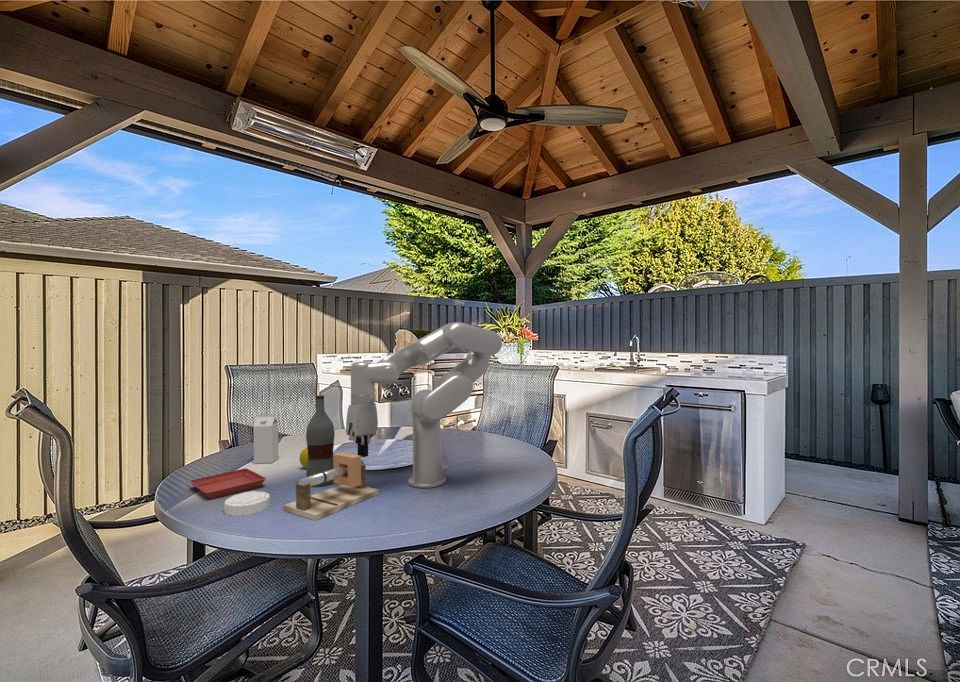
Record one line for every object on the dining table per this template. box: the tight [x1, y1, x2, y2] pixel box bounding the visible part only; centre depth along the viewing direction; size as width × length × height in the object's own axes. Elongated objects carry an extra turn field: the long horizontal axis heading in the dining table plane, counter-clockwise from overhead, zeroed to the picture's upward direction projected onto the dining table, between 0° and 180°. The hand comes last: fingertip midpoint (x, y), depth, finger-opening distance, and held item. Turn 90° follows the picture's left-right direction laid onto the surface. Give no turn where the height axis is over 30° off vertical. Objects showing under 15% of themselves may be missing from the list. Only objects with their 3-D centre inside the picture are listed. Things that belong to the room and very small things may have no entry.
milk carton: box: [252, 413, 279, 465], centre depth 182 cm, size 7×7×19 cm
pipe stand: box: [282, 465, 380, 522], centre depth 136 cm, size 24×14×8 cm, turn 148°
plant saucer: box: [189, 468, 267, 499], centre depth 150 cm, size 18×18×3 cm
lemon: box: [299, 447, 308, 469], centre depth 172 cm, size 6×6×8 cm
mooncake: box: [223, 490, 271, 517], centre depth 132 cm, size 12×12×4 cm
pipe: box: [296, 459, 366, 490], centre depth 136 cm, size 23×3×3 cm, turn 148°
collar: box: [333, 451, 362, 487], centre depth 141 cm, size 3×9×9 cm, turn 58°
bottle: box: [305, 394, 336, 488], centre depth 154 cm, size 9×9×30 cm
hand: (362, 456), depth 147 cm, fingers closed
